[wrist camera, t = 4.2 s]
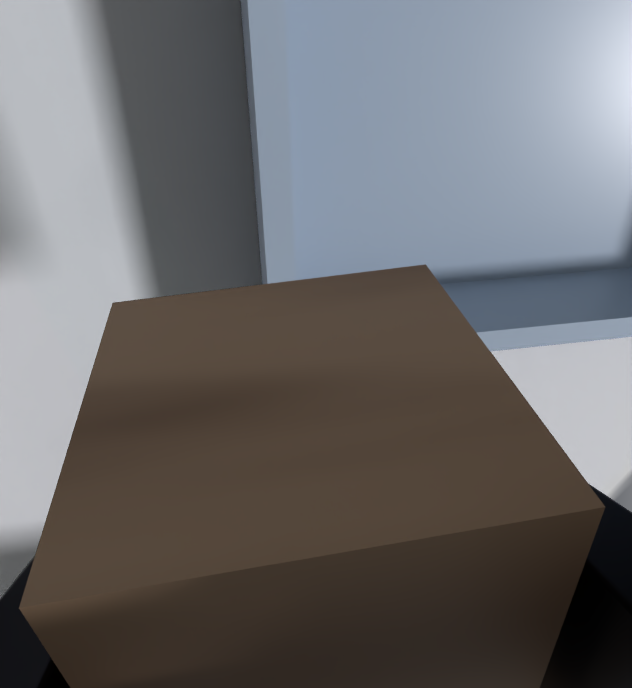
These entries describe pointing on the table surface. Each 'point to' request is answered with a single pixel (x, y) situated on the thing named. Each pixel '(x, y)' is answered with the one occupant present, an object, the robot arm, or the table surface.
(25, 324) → the table surface
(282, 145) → the tote
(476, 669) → the walnut cube
